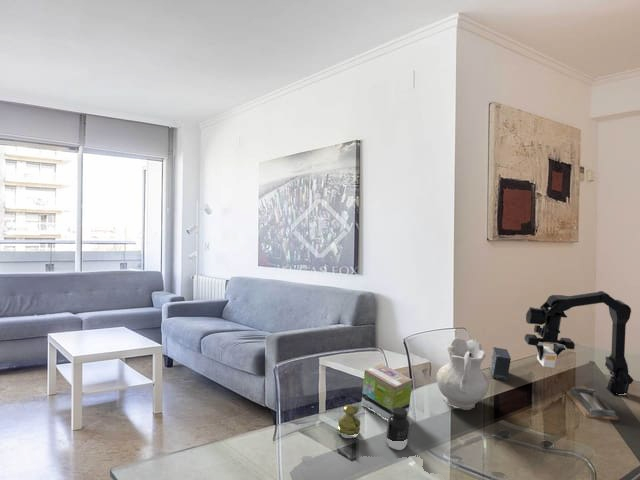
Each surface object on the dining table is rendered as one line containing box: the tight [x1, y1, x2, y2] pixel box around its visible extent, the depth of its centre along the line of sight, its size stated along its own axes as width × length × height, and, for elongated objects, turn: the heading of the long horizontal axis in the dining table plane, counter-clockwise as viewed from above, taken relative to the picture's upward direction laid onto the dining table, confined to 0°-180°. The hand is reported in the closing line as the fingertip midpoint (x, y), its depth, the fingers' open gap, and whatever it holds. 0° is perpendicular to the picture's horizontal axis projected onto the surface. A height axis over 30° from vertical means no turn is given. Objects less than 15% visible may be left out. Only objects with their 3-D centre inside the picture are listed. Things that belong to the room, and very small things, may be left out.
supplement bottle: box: [386, 407, 410, 441], centre depth 159 cm, size 7×7×12 cm
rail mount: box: [566, 386, 620, 421], centre depth 195 cm, size 12×18×3 cm, turn 175°
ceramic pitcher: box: [436, 336, 490, 407], centre depth 187 cm, size 22×20×25 cm
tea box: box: [361, 363, 413, 419], centre depth 179 cm, size 15×10×15 cm, turn 42°
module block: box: [536, 345, 558, 369], centre depth 209 cm, size 4×8×6 cm, turn 175°
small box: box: [489, 347, 512, 381], centre depth 217 cm, size 11×6×10 cm, turn 168°
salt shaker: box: [337, 404, 362, 435], centre depth 164 cm, size 7×7×10 cm
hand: (546, 360), depth 209 cm, fingers closed on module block, 4 cm apart
